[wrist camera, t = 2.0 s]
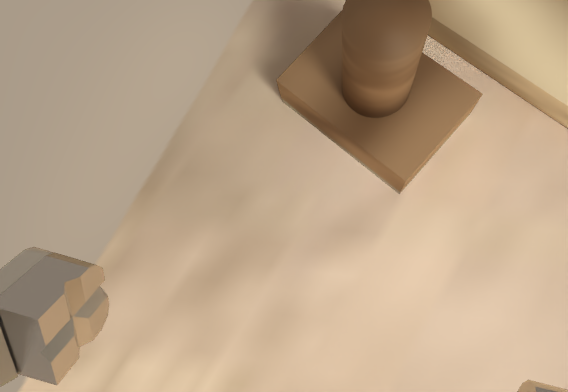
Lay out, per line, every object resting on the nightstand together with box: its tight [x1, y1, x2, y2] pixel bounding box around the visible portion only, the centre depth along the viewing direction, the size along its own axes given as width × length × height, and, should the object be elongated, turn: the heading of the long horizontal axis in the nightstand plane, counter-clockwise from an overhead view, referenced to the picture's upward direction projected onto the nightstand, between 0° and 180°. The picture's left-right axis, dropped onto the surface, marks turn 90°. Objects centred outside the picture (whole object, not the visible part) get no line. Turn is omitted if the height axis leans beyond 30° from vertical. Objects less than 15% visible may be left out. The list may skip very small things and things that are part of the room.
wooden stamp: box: [276, 0, 482, 194], centre depth 20 cm, size 8×6×8 cm
